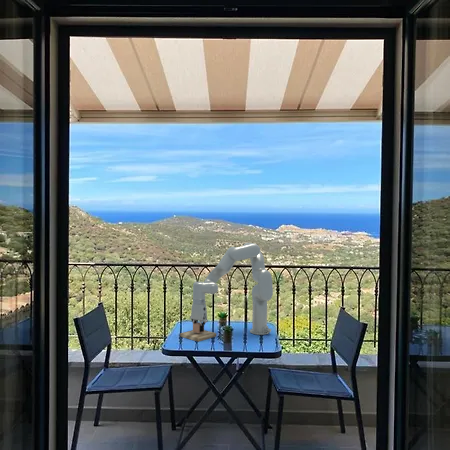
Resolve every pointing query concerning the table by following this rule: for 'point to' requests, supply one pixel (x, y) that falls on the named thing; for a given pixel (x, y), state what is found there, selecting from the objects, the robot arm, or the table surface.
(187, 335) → the oak board
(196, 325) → the cube
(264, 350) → the table surface
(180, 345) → the table surface
